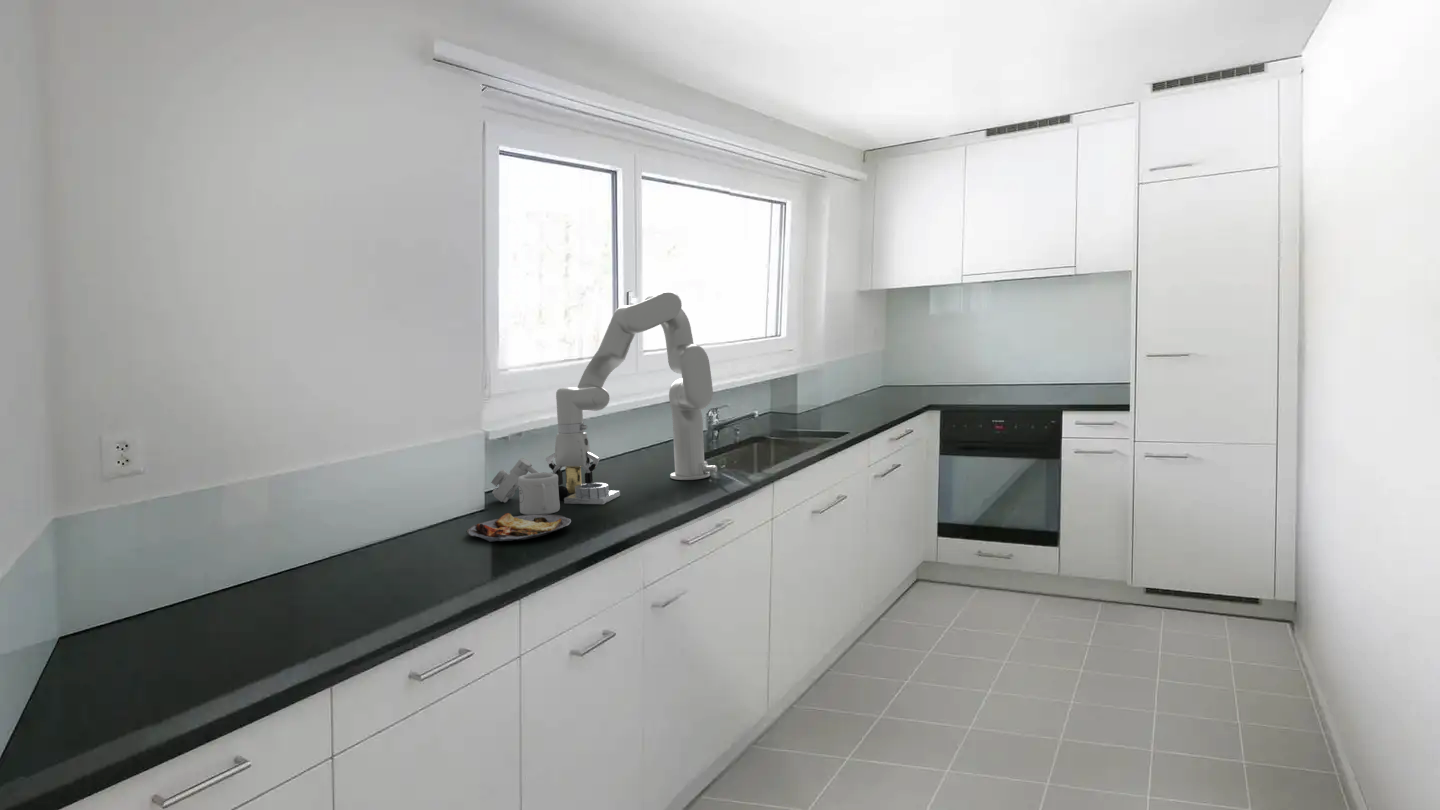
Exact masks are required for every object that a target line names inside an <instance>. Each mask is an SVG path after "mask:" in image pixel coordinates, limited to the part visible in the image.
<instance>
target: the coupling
mask: <svg viewBox="0 0 1440 810" xmlns="http://www.w3.org/2000/svg"><path fill="white" fill-rule="evenodd" d="M564 468H565V485H566V486H565V487H566V488H567V490H568V494H574V493H575V486H577V485H580V484H583V482H582V467H564Z"/></svg>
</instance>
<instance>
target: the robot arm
mask: <svg viewBox="0 0 1440 810" xmlns="http://www.w3.org/2000/svg"><path fill="white" fill-rule="evenodd" d="M690 323H691V322H690V321H689V318H688V316H687V314H686V312H685V311H684V310H683V309H682V299H681V298H680V296H679V294H677V293H676V292H674V291H671V290H663V291H660V290H657V291H653V292H650V293H648V294H647V295H645V296H644V298H643V300H642V301H640V302H638V303H635V304H628V305H621V306H619V307H618V308H616V310H615V311H614V313H613V315H612V316H611V320H610V322H609V324H608V326H607V329H606V331H605V333H604V335H603V338H602V341H601V343H600V345H599V348H598V349H597V351H596V353H595V354H594V355H593V357H592V358H591V359H590V361H589V362H588V364H587V366H586V368H585V369H584V371H583V373H582V374H581V375H582V376H581V377H580V380H579V382H578V384H577V387H572V386H571V387H562V388H559V389H557V391H556V393H555V399H556V414H557V415H556V416H557V430H558V431H557V434H556V436H555V442H554V444H555V445H554V453H552V454H551V455H549V456H546V458H545V461H546V463H547V464H548V467H549V468H550V469H551V470H552V473H554V474H557V475H558V486H563V484H564V478H563V477H564V476H563V471H562V468H563V467H564V468H565V467H581V468H582V469H583V470H584V471H585V473H584V484H585V483H594V482H593V472H594V471H595V470H596V468H597V467H598V464H599V462H600V457H598V456H597V455H596V454H594V453H592V452H591V448H590V441H589V437H588V434H587V432H585V430H588V425H587V424H585V423H584V415H583V414H584V412H583V411H594V412H596V411H602V410H604V409H605V408H606V407H607V406H608V405H609V403H610V394H609V391H608V390H606V389H605V388H604V387H603V386H604V385H605V383H606V381H607V379H608V378H609V376H610V374H611V373H612V372H613V371H615V369H617V368H618V367H619V366H621V364H623V362H624V361H625V360H626V357H627V356H628V352H629V350H630V348H631V345H632V343H633V341H634V339H635V337H636V334H639V333H643V332H645V331H648V330H651V329H654V328H655V327H657V326H659V325H660V326H661V328H662V330H663V335H664V339H665V345H666V346H665V347H666V353H667V361H668V362H667V363H668V366H669V368H670V370H671V371H673V372H674V373H676V374H679V375H681V378H678V379H676V380H675V381H673V383H671V386H670V388H669V391H668V398H669V399H668V400H669V405H670V410H671V415H672V416H671V417H672V418H671V419H672V433H673V434H672V436H673V457H674V458H673V459H674V460H673V461H674V472H671V473H670V474H669V476H670V479H672V480H679V481H694V480H702V479H706V478H709V477H710V476H711V473H717V472H718V466H717V465H709V464H708V461H705V445H704V419H703V414H702V410H704V409H706V408H707V407H708V406H710V404H711V402H712V400H713V396H714V395H713V393H714V390H713V381H712V380H713V379H712V374H711V373H712V372H711V365H710V364H711V363H710V358H709V356H708V353H707V352H706V351H705V349H704V348H703V347H702V346H700V345H698V344H694V338H693V337H694V336H693V333H692V327H691V324H690ZM553 460H555V461H553ZM591 463H592V464H591Z"/></svg>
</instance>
